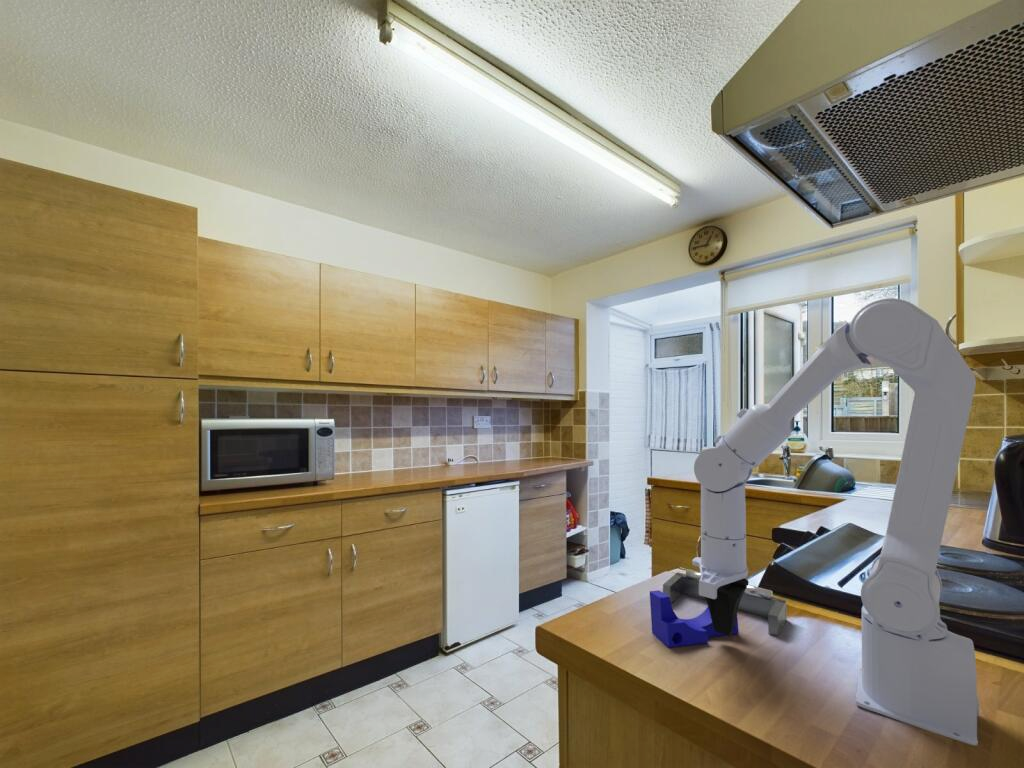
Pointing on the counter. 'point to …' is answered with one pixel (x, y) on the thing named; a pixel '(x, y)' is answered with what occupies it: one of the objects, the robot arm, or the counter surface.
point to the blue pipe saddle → (680, 624)
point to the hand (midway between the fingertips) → (723, 631)
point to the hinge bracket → (751, 601)
